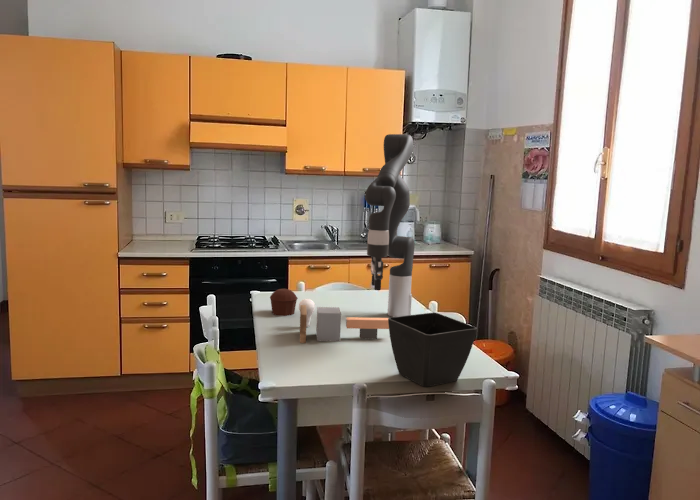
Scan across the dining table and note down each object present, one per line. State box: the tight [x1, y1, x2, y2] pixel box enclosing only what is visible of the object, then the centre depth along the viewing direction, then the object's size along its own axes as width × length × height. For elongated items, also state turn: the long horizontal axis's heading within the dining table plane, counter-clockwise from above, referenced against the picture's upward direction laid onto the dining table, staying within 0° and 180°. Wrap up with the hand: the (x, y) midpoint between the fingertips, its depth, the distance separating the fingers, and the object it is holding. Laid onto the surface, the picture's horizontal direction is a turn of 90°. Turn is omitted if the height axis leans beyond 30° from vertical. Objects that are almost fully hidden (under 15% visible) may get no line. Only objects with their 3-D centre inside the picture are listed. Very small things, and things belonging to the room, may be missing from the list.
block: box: [315, 306, 342, 342], centre depth 210 cm, size 8×9×10 cm
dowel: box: [345, 316, 389, 330], centre depth 211 cm, size 16×3×3 cm, turn 95°
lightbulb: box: [298, 298, 316, 328], centre depth 222 cm, size 6×6×11 cm
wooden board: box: [299, 305, 307, 344], centre depth 209 cm, size 2×14×10 cm, turn 6°
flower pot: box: [387, 312, 478, 388], centre depth 173 cm, size 19×19×17 cm
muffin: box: [269, 288, 298, 317], centre depth 242 cm, size 12×11×10 cm
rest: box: [359, 329, 378, 340], centre depth 212 cm, size 6×3×4 cm, turn 95°
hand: (375, 287), depth 210 cm, fingers open, 8 cm apart
